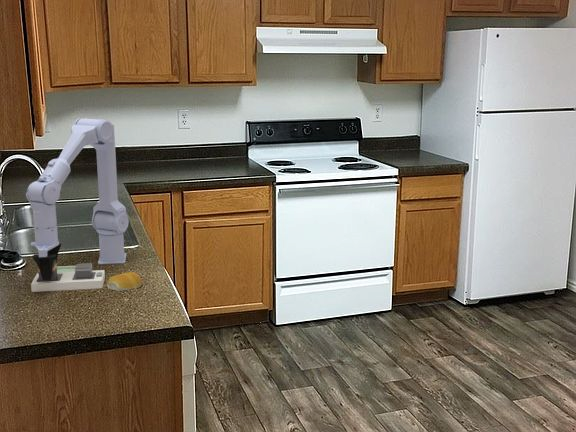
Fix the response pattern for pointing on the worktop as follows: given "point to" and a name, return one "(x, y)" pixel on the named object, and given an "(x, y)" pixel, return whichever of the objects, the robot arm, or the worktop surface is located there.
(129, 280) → the bread roll
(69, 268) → the tray
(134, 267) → the worktop surface
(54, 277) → the plug
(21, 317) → the worktop surface
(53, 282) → the strip
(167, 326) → the worktop surface
